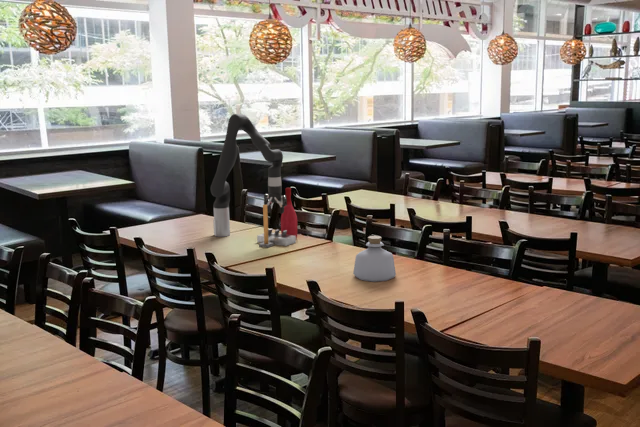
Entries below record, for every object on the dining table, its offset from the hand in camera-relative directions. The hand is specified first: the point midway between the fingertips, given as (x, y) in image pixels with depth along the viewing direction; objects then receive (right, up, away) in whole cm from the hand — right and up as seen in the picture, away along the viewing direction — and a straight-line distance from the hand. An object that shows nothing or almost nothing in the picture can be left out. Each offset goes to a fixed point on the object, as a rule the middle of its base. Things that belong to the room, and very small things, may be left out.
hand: (275, 212), depth 378 cm
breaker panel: (0, -17, +3) cm, 17 cm away
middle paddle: (0, -13, +2) cm, 13 cm away
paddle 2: (+4, -13, 0) cm, 14 cm away
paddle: (-4, -12, +5) cm, 14 cm away
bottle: (+51, -30, -66) cm, 89 cm away
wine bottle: (+7, -15, +15) cm, 22 cm away
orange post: (-5, -19, -5) cm, 20 cm away
